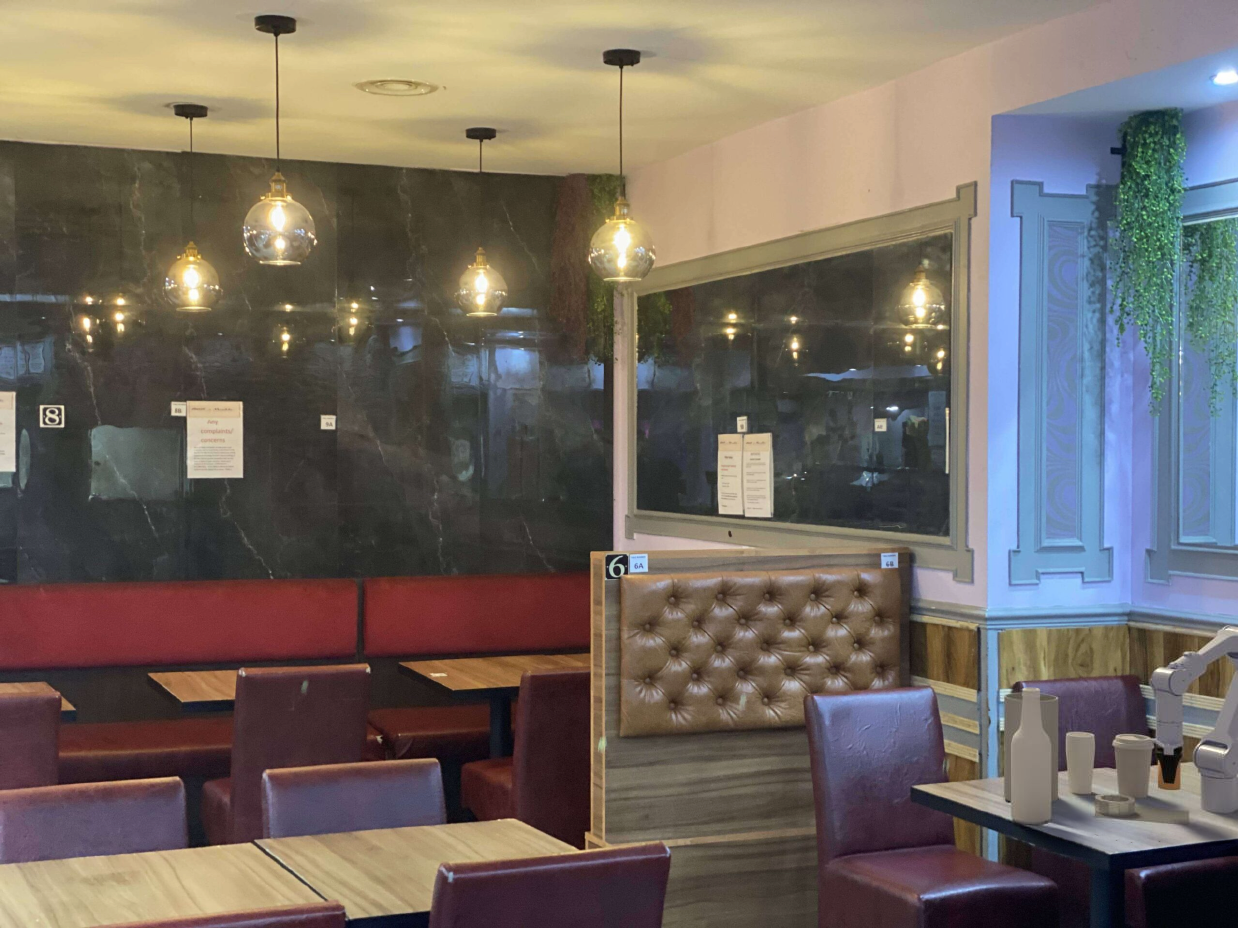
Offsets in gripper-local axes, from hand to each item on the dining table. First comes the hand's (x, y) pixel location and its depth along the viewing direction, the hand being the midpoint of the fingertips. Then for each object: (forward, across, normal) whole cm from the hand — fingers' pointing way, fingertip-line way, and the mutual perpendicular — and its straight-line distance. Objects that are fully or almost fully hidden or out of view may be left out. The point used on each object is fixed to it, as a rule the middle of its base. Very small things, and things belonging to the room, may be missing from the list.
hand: (1169, 780), depth 327 cm
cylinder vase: (+9, -8, -31) cm, 34 cm away
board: (+9, 0, -6) cm, 11 cm away
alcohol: (+9, +12, -29) cm, 33 cm away
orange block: (+2, 0, 0) cm, 2 cm away
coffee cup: (+9, -19, -8) cm, 23 cm away
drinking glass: (+9, -18, -21) cm, 29 cm away
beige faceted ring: (+8, 0, -12) cm, 14 cm away
